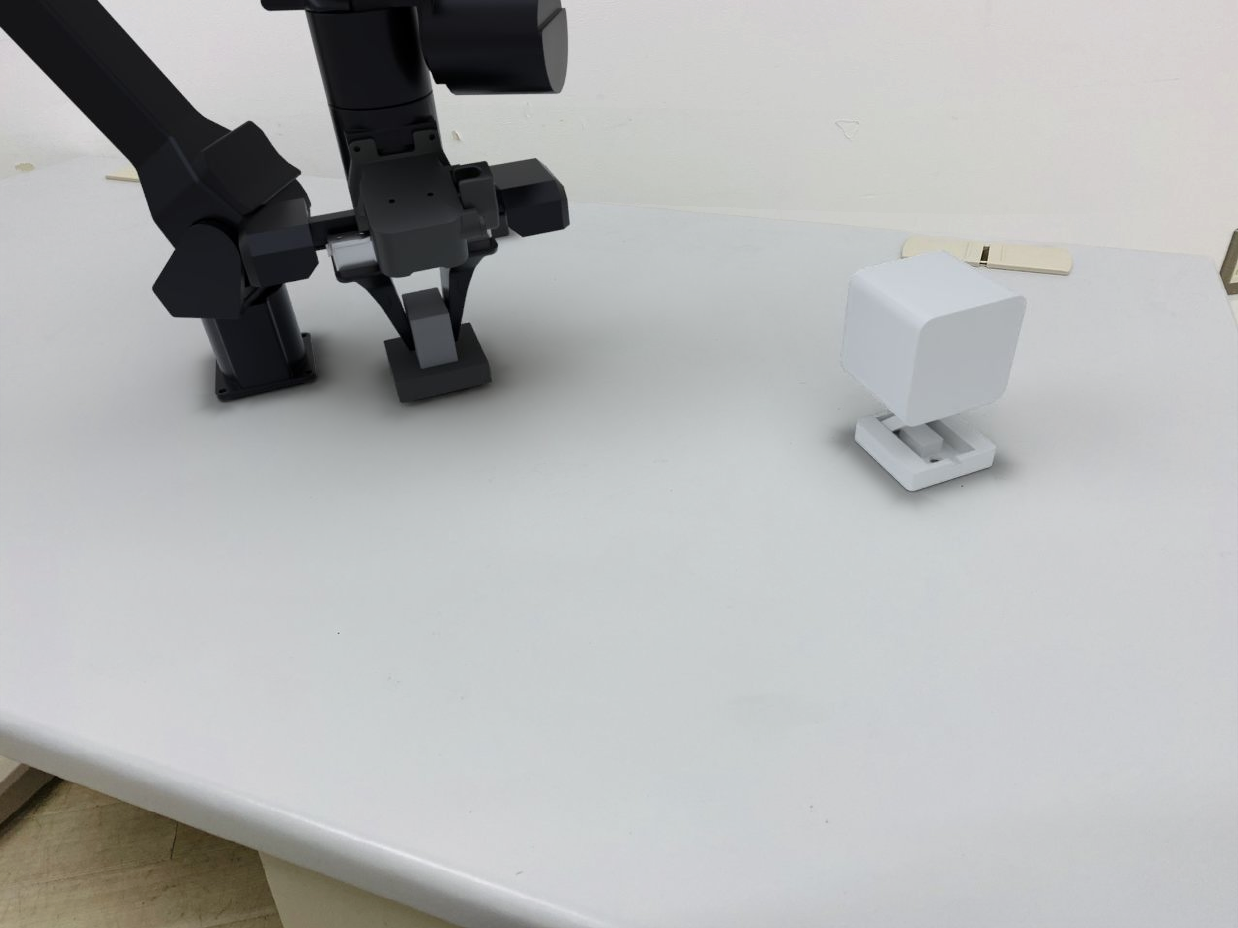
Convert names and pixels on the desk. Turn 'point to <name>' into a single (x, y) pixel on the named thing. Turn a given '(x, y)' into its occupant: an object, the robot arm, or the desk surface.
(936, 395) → the security camera
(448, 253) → the robot arm
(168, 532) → the desk surface
